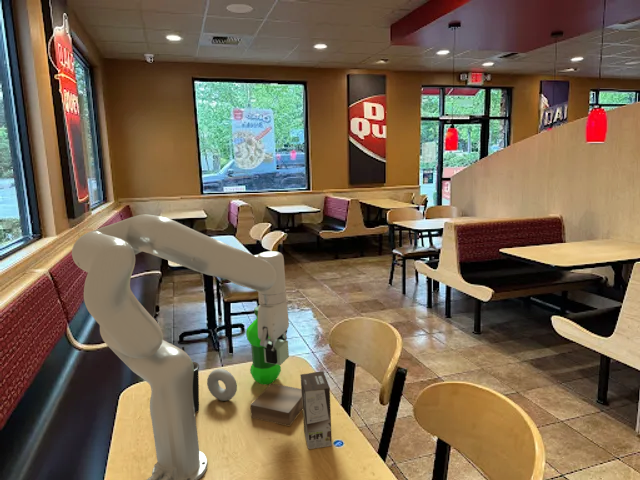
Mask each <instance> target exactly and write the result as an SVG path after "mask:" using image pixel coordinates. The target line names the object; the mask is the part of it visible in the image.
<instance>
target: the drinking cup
mask: <svg viewBox="0 0 640 480" xmlns="http://www.w3.org/2000/svg"><path fill="white" fill-rule="evenodd" d="M181 349H182V350H183V351H184V352H186V350H185V346H181ZM192 363H193V367H194V375H193V402H194V409H195V414H197V413H198V412H199V409H200V392H199V390H200V389H199V388H200V384H199V380H200V378H199V368H200V365H199V363H198V362H196V361H192Z"/></svg>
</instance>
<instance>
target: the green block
mask: <svg viewBox="0 0 640 480" xmlns="http://www.w3.org/2000/svg"><path fill="white" fill-rule="evenodd" d="M268 344H270V345H271V346H272V342H270V341H269V342H268ZM275 350H277V363H276V364H277V365H280V366H281V365H282V364H283V363H285V361H286V360H288V358H289V357H290V355H289V353H290V352H289V351H290V350H289V340H280V339H276V342H275ZM264 358H265V362H266V351H265V350H264ZM266 363H267V362H266ZM271 364H273V363H271Z"/></svg>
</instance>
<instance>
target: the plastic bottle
mask: <svg viewBox="0 0 640 480" xmlns="http://www.w3.org/2000/svg"><path fill="white" fill-rule="evenodd" d="M258 307H259V305H258V306H255V307H254V308H253V311H254V313H253V314H254V315H255V317H256V318H255V319H254V320H253V322H252V323H250V325H249V326H247V328H246V331H245V336H246V338H247V339H246V340H247V341H248V343H249V344H250V347H251V349H250V350H251V358H252V359H251V360H252V364H251V366H250V369H249V372H250V375H251V377H252V378H253V380H254V381H255V382H257V383H258V384H260V385H265V386H266V385H268V386H269V385H270V384H271V383H272V384H274V382H275V381H276V380H277V379H278V377H280V374H281V371H282V368H281V365H277V364H271V363H266V362H265V358H264V348H263V347H262V346H260V341H261V340H260V339H259V338H258ZM268 338H271V337H268ZM268 342H269V341H268Z"/></svg>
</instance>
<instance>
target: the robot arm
mask: <svg viewBox="0 0 640 480" xmlns="http://www.w3.org/2000/svg"><path fill="white" fill-rule="evenodd" d="M142 252H144V253H146V254H150V255H152V256H154V257H155V256H156V257H158V258H161V259H164V260H167V262H171V263H174V264H177V265H180V266H182V267H184V268H187V269H190V270H192V271H195V272H198V273H201V274H204V275H207V276H212V277H216V278H221V279H224V280H228V281H229V282H230V283H233V284H234V285H237V286H238V287H244V288H247V289H251V290H253V291H257V293H258V304H259V305H258V306H259V307H258V306H257V307H258V338H259V339H260V340H261V341H260V346H262V347H263V348H264V350H265V351H266V362H267V363H273V364H276V363H277V350H275V342H276V339H280V340H287V339H288V338H287V333H288V329H289V326H290V323H289V312H288V303H287V291H286V290H287V287H286V272H285V259H284V254H282V252H279V251H276V250H275V251H273V250H272V251H271V250H269V251H263V252H260V253H258V254H253V253H249V252H246V251H244V250H243V249H242V250H241V249H239V248H237V247H234V246H231V245H230V244H227V243H225V242H223V241H220V240H218V239H215V238H213V237H211V236H208V235H206V234H204V233H202V232H200V231H198V230H195V229H193V228H190V227H188V226H187V225H184V224H182V223H180V222H178V221H176V220H173V219H171V218H169V217H164V216H161V215H160V216H159V215H153V214H148V213H147V214H146V213H144V214H139V215H138V214H137V215H134V216H131V217H128V218H126V219H122V220H120V221H118V222H114V223H111V224H108V225H106V226H102V227H99V228H97V229H94V230H91V231H88V232H86V233H84V234H83V235H81V236H79V238H78V239H76V241H75V242H74V243H73V246H72V249H71V257H72V260H73V262H74V264H75V265H76V266H77V267H78V268H79V269H80V270H81V271H84V272H86V278H85V281H84V285H83V286H84V287H83V301H84V302H83V303H84V304H85V307H86V309H87V311H88V313H89V314H90V315H91V317H92V318H93V319H94V320H95V322H96V323H97V324H98V325H99V334H100V336H101V339H102V341H103V342H104V343H105V344H106V345H107V347H108V348H109V349H110V350H111V351H112V352H113V353H114V354H115V356H117V357H118V358H119V359H120V360H121V361H122V362H123V363H124V364H125V365H126V367H128V368H129V370H130V371H132V372H133V373H134V374H136V375H137V376H138V377H140V378H141V379H143V380H144V381H145V382H146V383H148V384H149V386H150V389H151V392H150V393H151V395H150V399H149V413H150V418H151V424H152V430H153V431H152V432H153V433H152V434H153V439H154V447H155V452H156V453H155V455H156V461H157V462H156V463H154V465H153V468H152V471H151V476H150V477H148V478H147V479H146V480H199V479H201V478H202V477H203V476H204V475H205V473H206V471H207V469H208V459H207V456H206V454H205V453H204V452H202V451H200V445H199V436H198V428H197V421H196V420H197V419H196V413H195V409H194V402H193V375H194V367H193V363H192V362H193V360H192V358H191V356H189V354H188V353H187V352H186V351H185V352H184V351H183V350H182V348H180V347H178V346H176V345H174V344H172V343H170V342H168V341H166V340H164V336H163V335H164V334H163V331H162V328H161V326H160V324H159V323H158V321H157V320H156V319H155V318H154V317H153V316H152V314H150V313H149V311H148V310H147V309H146V308H145V307H144V306H143V305H142V303H141V302H140V301H139V300H138V299H137V296H135V294H134V292H133V291H132V289H131V279H132V275H133V272H134V269H135V266H136V265H135V264H136V255H138V254H139V253H142ZM268 337H271V338H268ZM268 341H270V342H272V346H271V345H270V344H268ZM287 341H288V340H287Z"/></svg>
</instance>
